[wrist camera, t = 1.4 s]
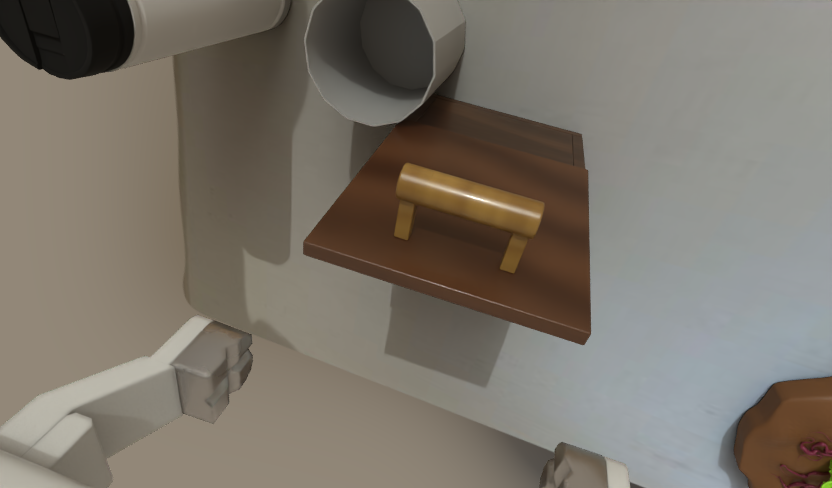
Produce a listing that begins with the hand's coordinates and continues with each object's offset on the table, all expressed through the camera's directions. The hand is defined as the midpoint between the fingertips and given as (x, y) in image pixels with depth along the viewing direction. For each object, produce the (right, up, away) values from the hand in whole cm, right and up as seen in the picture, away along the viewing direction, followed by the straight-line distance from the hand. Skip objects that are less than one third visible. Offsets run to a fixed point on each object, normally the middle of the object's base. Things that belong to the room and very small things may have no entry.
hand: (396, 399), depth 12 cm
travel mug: (-12, +25, +26) cm, 38 cm away
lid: (+3, +6, +14) cm, 15 cm away
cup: (0, +20, +25) cm, 32 cm away
